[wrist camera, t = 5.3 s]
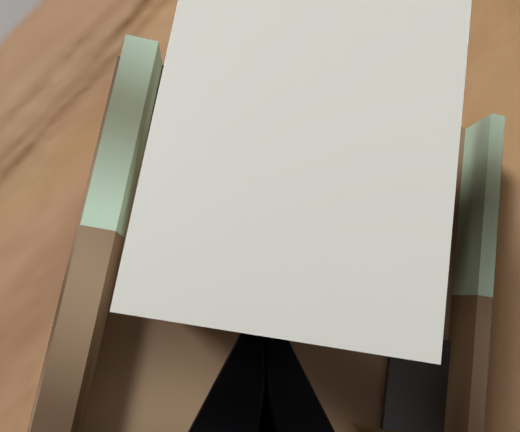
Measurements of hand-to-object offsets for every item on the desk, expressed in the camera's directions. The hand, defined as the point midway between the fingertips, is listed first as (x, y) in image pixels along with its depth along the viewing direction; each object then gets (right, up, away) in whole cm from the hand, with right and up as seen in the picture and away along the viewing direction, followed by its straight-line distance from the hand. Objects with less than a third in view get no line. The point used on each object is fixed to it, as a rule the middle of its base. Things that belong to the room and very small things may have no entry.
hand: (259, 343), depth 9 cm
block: (0, +3, +6) cm, 7 cm away
